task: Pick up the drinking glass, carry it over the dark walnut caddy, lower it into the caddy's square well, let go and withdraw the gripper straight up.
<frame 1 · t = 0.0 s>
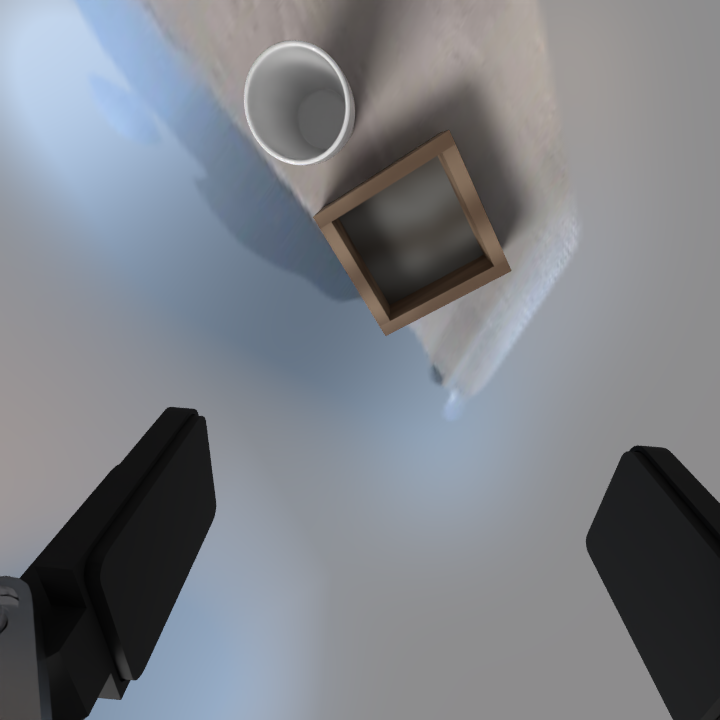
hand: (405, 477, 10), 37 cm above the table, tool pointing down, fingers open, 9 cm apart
caddy: (410, 233, 43), on the table
drinking glass: (326, 121, 39), on the table
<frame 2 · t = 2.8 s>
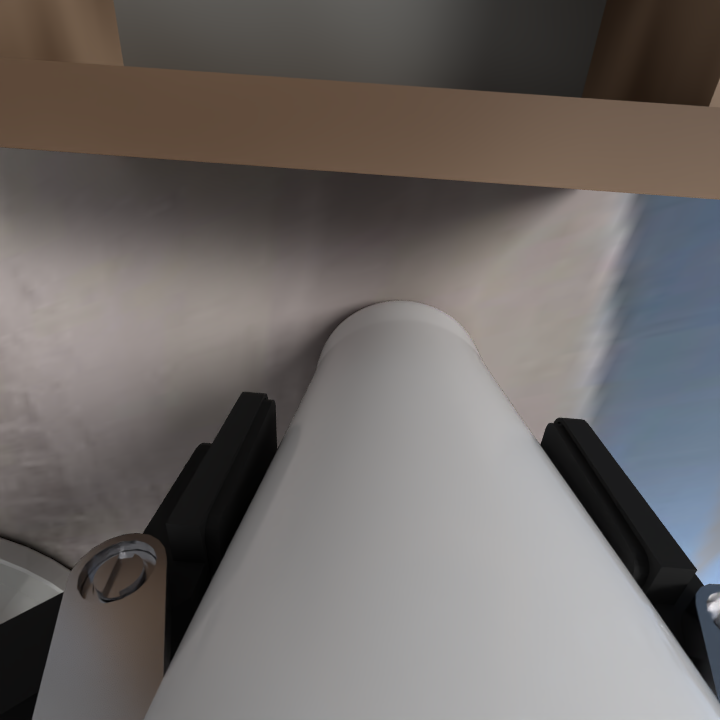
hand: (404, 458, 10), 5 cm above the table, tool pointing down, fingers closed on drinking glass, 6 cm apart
drinking glass: (397, 366, 15), on the table, touching gripper
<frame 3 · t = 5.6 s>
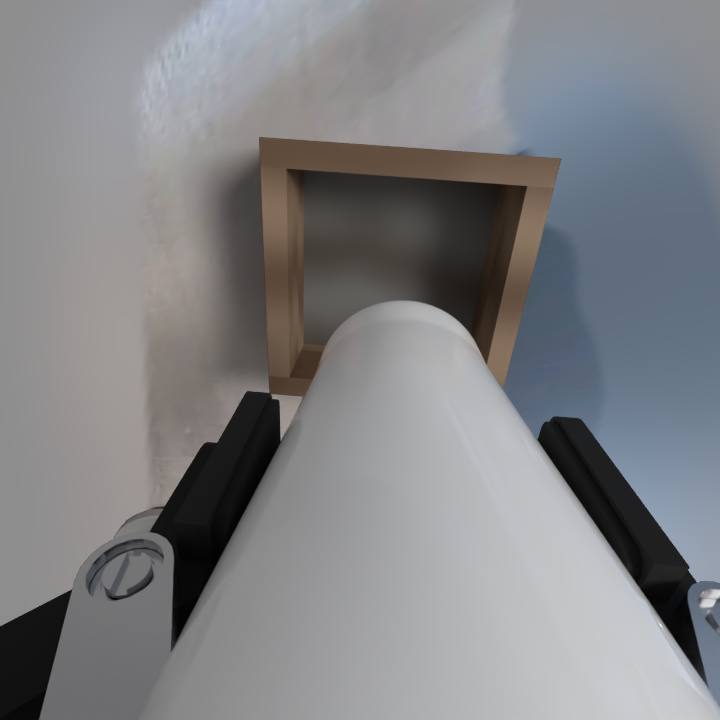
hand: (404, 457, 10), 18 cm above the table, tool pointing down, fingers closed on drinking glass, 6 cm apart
caddy: (392, 266, 26), on the table
drinking glass: (399, 366, 14), point 13 cm above the table, touching gripper
when the fingers open (6 cm above the table, at t = 8.2 s): drinking glass stays where it is, resting on caddy.
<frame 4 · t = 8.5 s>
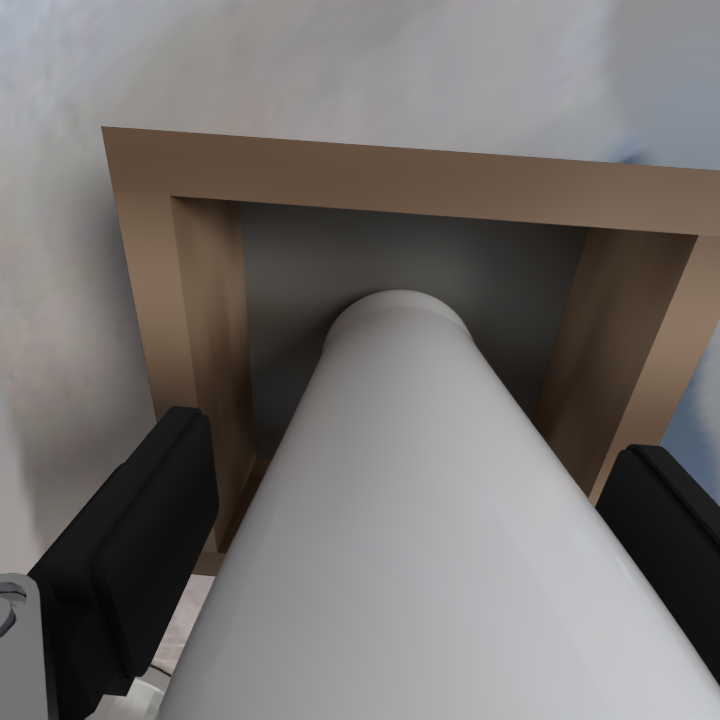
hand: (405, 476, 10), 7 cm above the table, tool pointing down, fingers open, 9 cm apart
caddy: (396, 344, 16), on the table
drinking glass: (396, 351, 15), point 1 cm above the table, touching caddy
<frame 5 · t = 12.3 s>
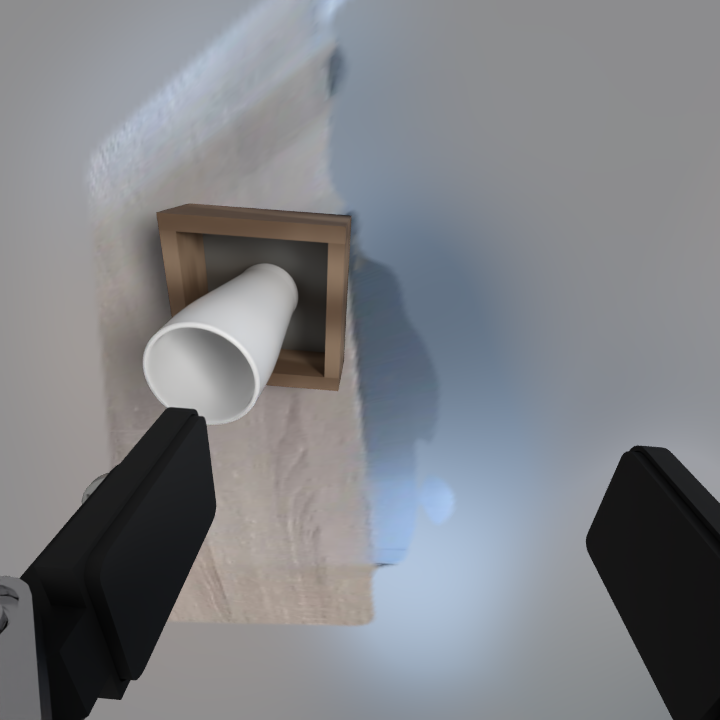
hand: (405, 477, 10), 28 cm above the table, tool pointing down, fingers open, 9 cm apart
caddy: (272, 288, 37), on the table
drinking glass: (270, 290, 37), point 1 cm above the table, touching caddy
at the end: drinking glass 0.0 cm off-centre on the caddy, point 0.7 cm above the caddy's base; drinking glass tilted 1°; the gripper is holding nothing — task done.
